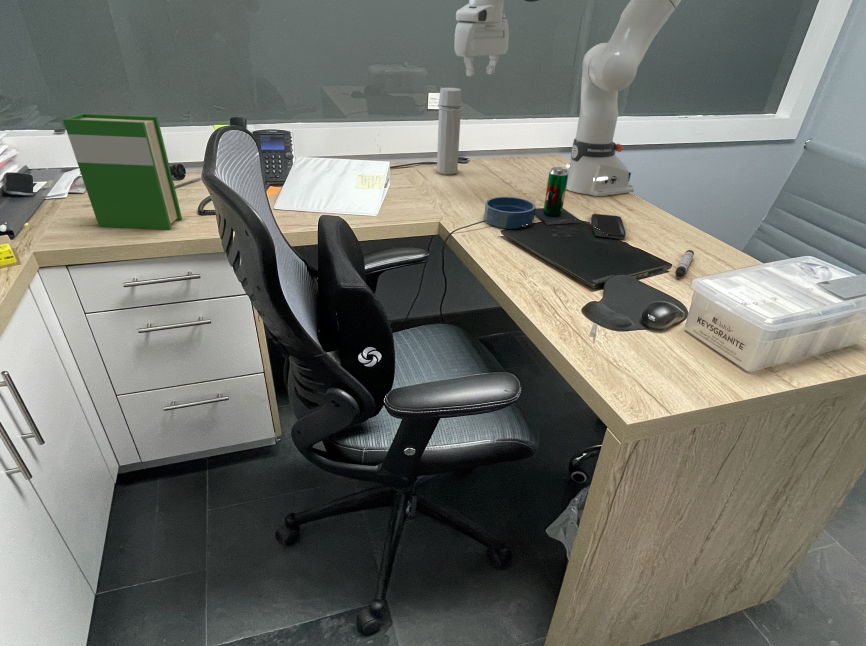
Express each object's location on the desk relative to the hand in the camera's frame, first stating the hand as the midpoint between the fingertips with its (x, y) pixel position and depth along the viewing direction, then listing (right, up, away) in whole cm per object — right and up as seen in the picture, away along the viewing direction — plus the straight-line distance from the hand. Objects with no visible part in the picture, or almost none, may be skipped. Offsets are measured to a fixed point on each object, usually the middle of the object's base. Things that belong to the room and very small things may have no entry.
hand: (480, 74), depth 146 cm
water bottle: (-8, -13, +35) cm, 39 cm away
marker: (+44, -58, -24) cm, 76 cm away
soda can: (+20, -37, +2) cm, 42 cm away
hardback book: (-86, -44, -11) cm, 97 cm away
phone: (+33, -43, -4) cm, 54 cm away
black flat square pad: (+21, -38, +2) cm, 43 cm away
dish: (+7, -40, -1) cm, 41 cm away
